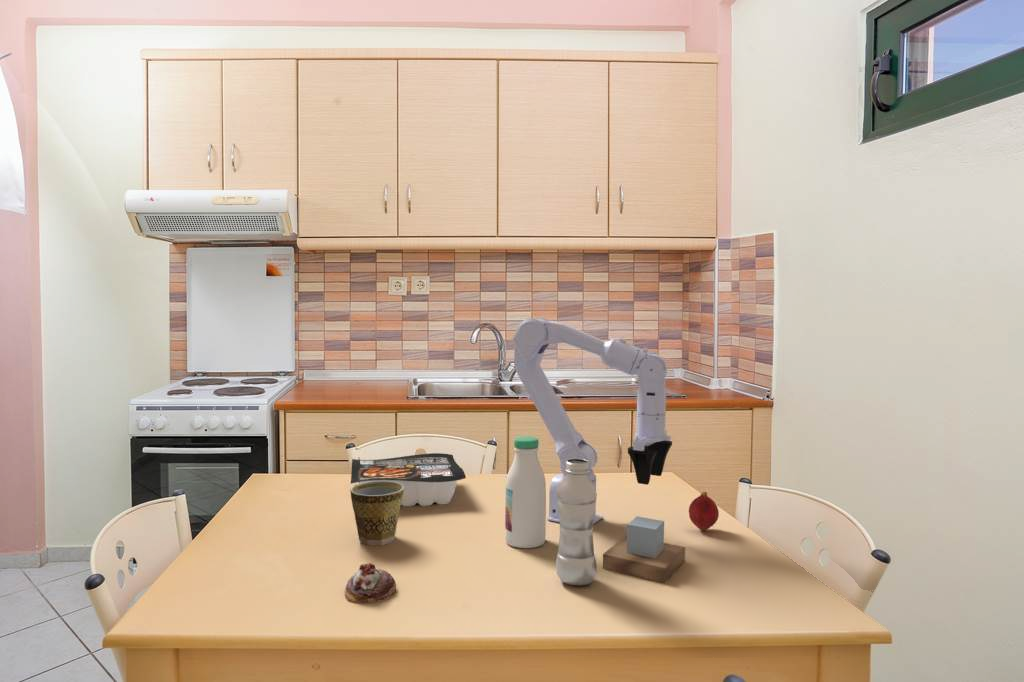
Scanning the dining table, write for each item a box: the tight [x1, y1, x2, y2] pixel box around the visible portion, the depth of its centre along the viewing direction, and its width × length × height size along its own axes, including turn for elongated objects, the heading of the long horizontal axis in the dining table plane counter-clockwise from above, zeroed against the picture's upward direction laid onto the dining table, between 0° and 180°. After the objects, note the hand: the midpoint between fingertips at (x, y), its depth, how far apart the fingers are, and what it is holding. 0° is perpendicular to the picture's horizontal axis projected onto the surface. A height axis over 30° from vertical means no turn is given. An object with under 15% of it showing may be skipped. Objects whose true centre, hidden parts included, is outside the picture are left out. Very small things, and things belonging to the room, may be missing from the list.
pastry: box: [343, 562, 397, 604], centre depth 102 cm, size 8×8×5 cm
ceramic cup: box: [349, 481, 404, 546], centre depth 125 cm, size 13×10×10 cm
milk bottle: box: [504, 436, 547, 549], centre depth 123 cm, size 8×8×20 cm
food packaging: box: [350, 452, 467, 507], centre depth 153 cm, size 25×8×23 cm
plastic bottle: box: [555, 459, 598, 586], centre depth 105 cm, size 6×7×20 cm
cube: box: [626, 515, 665, 558], centre depth 113 cm, size 5×5×5 cm
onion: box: [688, 490, 720, 532], centre depth 131 cm, size 6×6×8 cm
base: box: [602, 534, 686, 584], centre depth 113 cm, size 11×11×2 cm
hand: (649, 479), depth 132 cm, fingers open, 7 cm apart
